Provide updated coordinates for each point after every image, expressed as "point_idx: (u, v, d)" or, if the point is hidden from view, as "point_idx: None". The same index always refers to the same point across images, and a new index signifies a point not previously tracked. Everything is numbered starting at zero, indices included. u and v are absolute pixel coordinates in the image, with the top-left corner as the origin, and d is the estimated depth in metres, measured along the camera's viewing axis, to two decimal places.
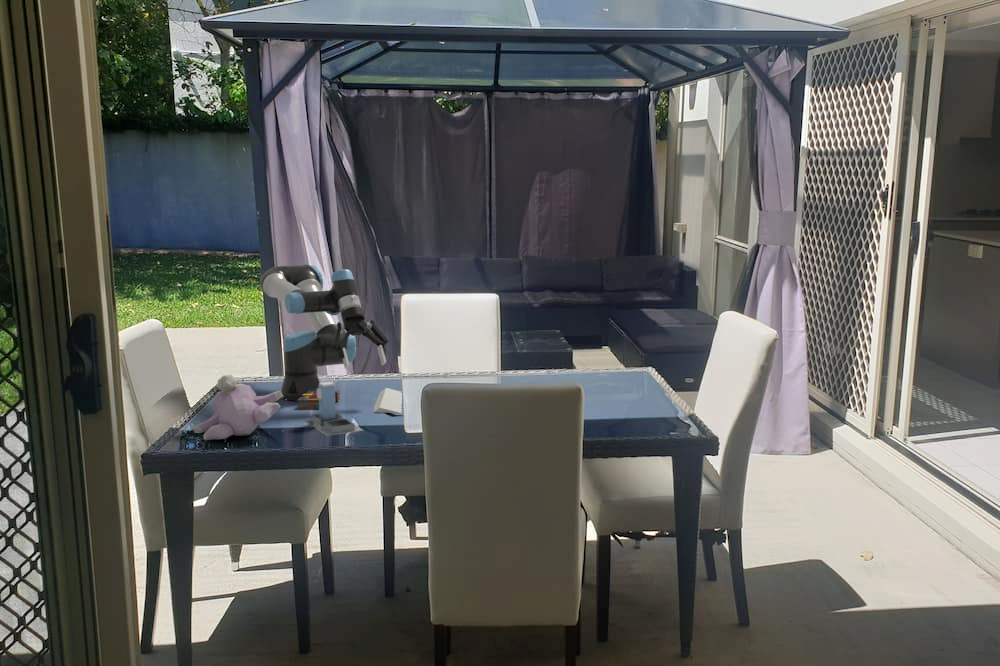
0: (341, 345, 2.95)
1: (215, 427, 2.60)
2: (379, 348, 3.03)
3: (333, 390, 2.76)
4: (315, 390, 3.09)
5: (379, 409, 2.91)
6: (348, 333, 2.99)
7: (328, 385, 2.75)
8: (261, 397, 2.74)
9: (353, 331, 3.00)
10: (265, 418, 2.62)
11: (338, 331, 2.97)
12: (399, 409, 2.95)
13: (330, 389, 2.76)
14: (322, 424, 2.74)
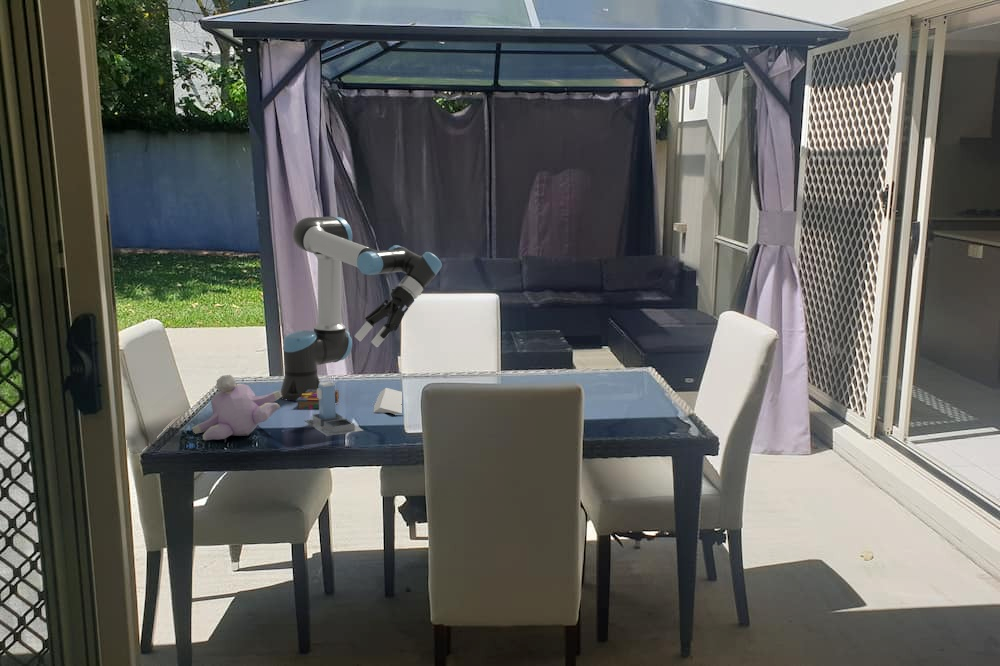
0: None
1: (214, 427, 2.60)
2: (369, 327, 2.88)
3: (333, 390, 2.76)
4: (314, 390, 3.09)
5: (379, 409, 2.91)
6: None
7: (328, 385, 2.75)
8: (260, 397, 2.74)
9: None
10: (264, 418, 2.61)
11: None
12: (399, 409, 2.95)
13: (330, 389, 2.76)
14: (322, 424, 2.74)
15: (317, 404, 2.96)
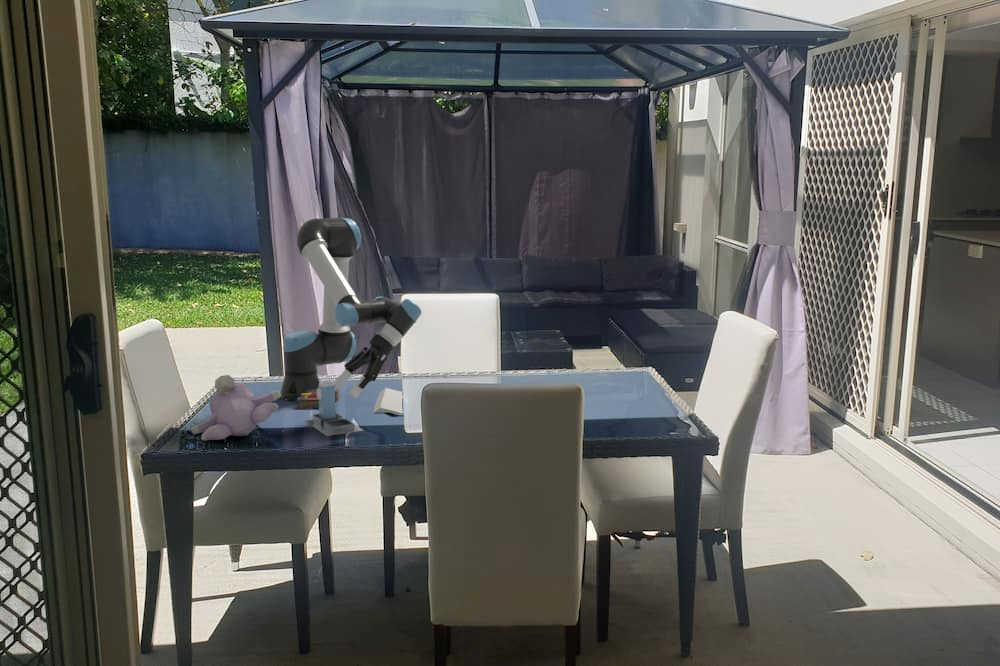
0: None
1: (213, 427, 2.60)
2: (348, 374, 2.86)
3: (333, 390, 2.76)
4: (314, 390, 3.10)
5: (380, 409, 2.91)
6: None
7: (328, 385, 2.75)
8: (259, 397, 2.73)
9: None
10: (263, 418, 2.61)
11: None
12: (399, 409, 2.95)
13: (330, 389, 2.76)
14: (322, 424, 2.74)
15: (317, 404, 2.96)
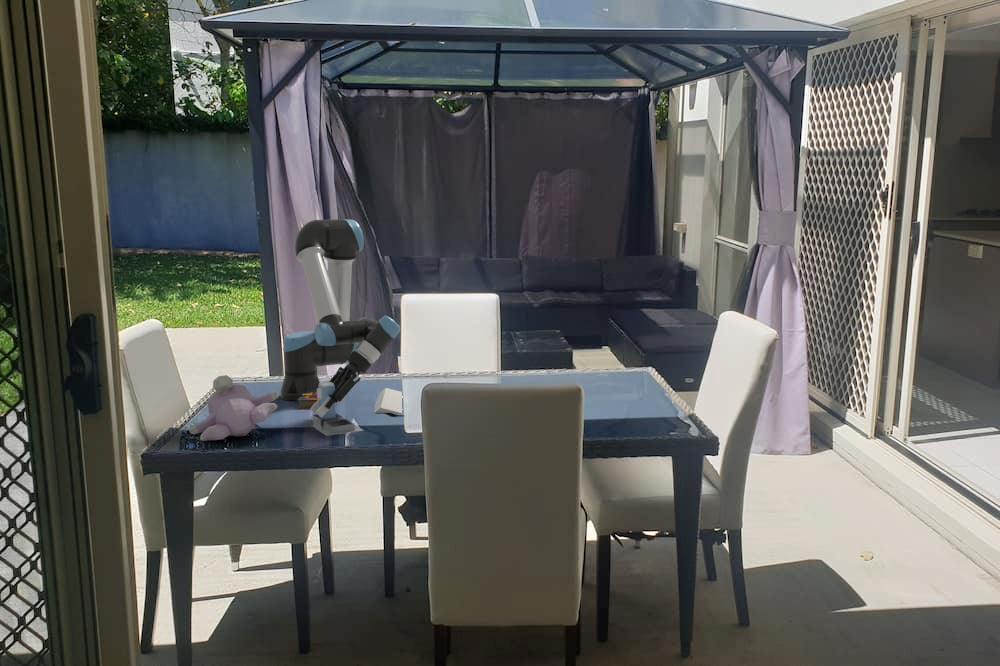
0: None
1: (212, 428, 2.59)
2: None
3: (333, 390, 2.76)
4: (314, 390, 3.10)
5: (380, 409, 2.90)
6: None
7: (328, 385, 2.75)
8: (257, 397, 2.73)
9: None
10: (262, 418, 2.61)
11: None
12: (400, 409, 2.95)
13: (330, 389, 2.76)
14: (322, 424, 2.74)
15: None
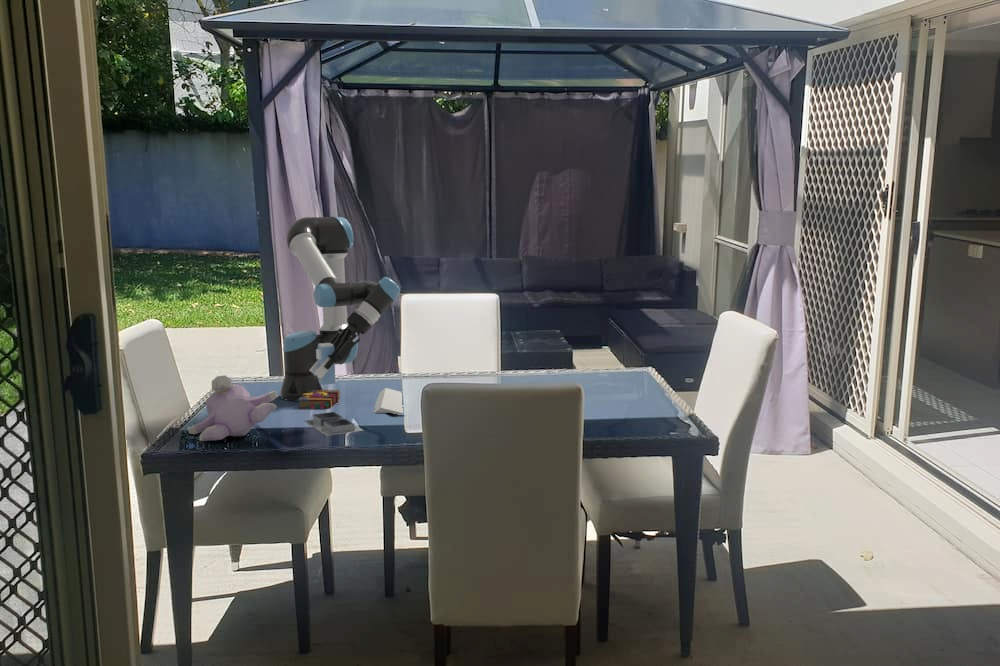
0: None
1: (211, 428, 2.59)
2: None
3: (332, 351, 2.74)
4: (315, 390, 3.10)
5: (380, 409, 2.90)
6: None
7: (327, 345, 2.73)
8: (256, 397, 2.73)
9: None
10: (262, 418, 2.61)
11: None
12: (400, 409, 2.95)
13: (329, 350, 2.73)
14: (322, 424, 2.74)
15: (319, 404, 2.97)
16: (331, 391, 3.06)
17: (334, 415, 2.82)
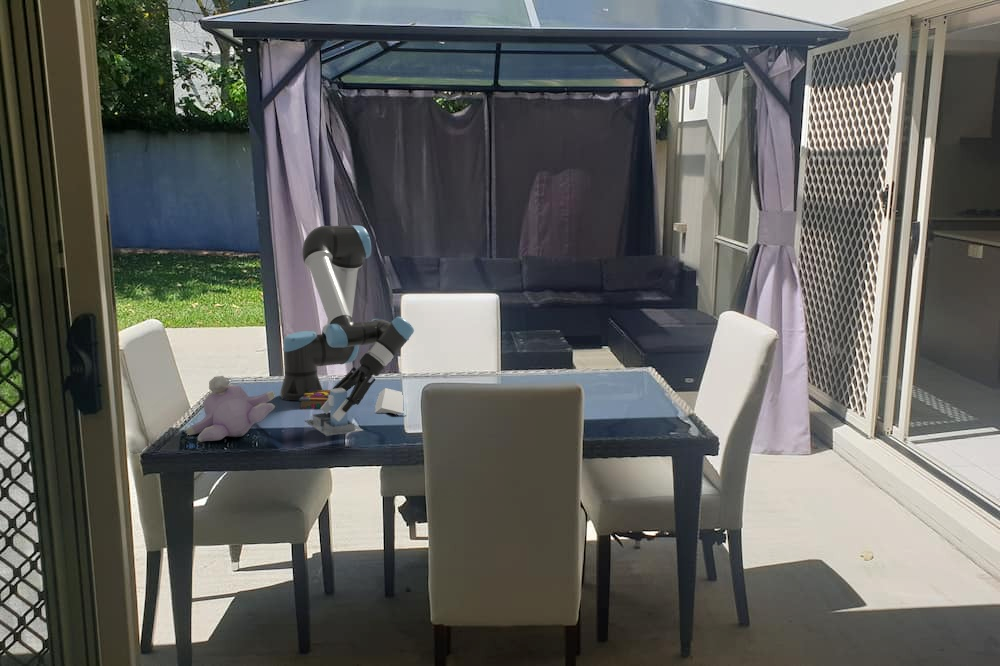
0: None
1: (209, 428, 2.59)
2: None
3: (345, 396, 2.68)
4: (316, 389, 3.10)
5: (381, 409, 2.90)
6: None
7: (340, 391, 2.67)
8: (254, 398, 2.73)
9: None
10: (260, 419, 2.61)
11: None
12: (401, 409, 2.95)
13: (342, 395, 2.67)
14: (322, 424, 2.74)
15: (320, 403, 2.97)
16: None
17: None
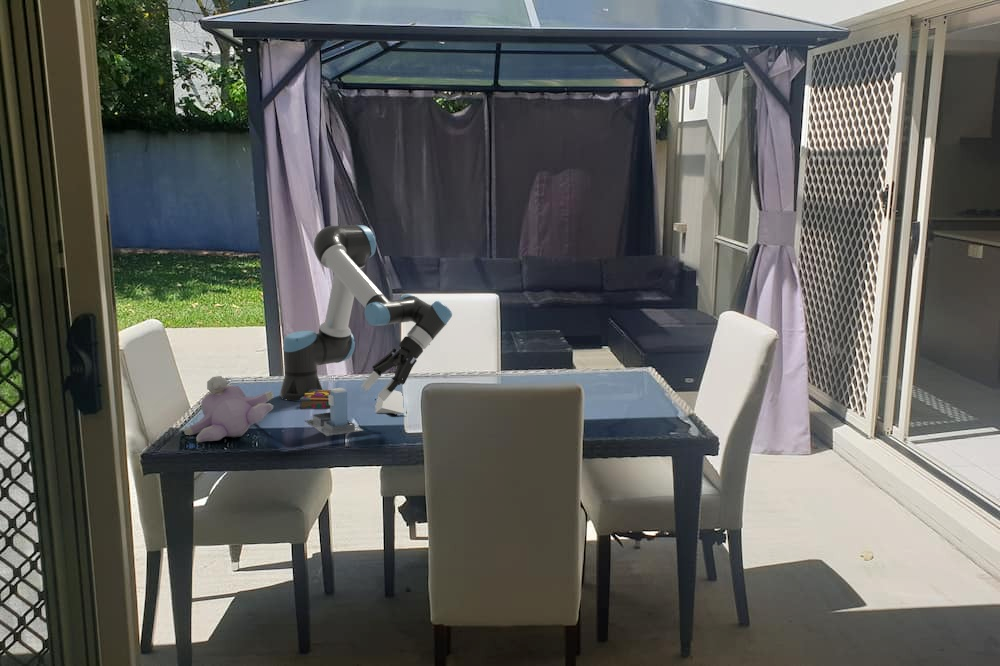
0: None
1: (208, 429, 2.58)
2: (376, 376, 2.82)
3: (345, 396, 2.68)
4: (317, 389, 3.10)
5: (381, 409, 2.90)
6: None
7: (340, 391, 2.67)
8: (252, 398, 2.73)
9: None
10: (259, 419, 2.61)
11: None
12: (401, 409, 2.95)
13: (342, 395, 2.67)
14: (322, 424, 2.74)
15: (320, 404, 2.97)
16: None
17: None
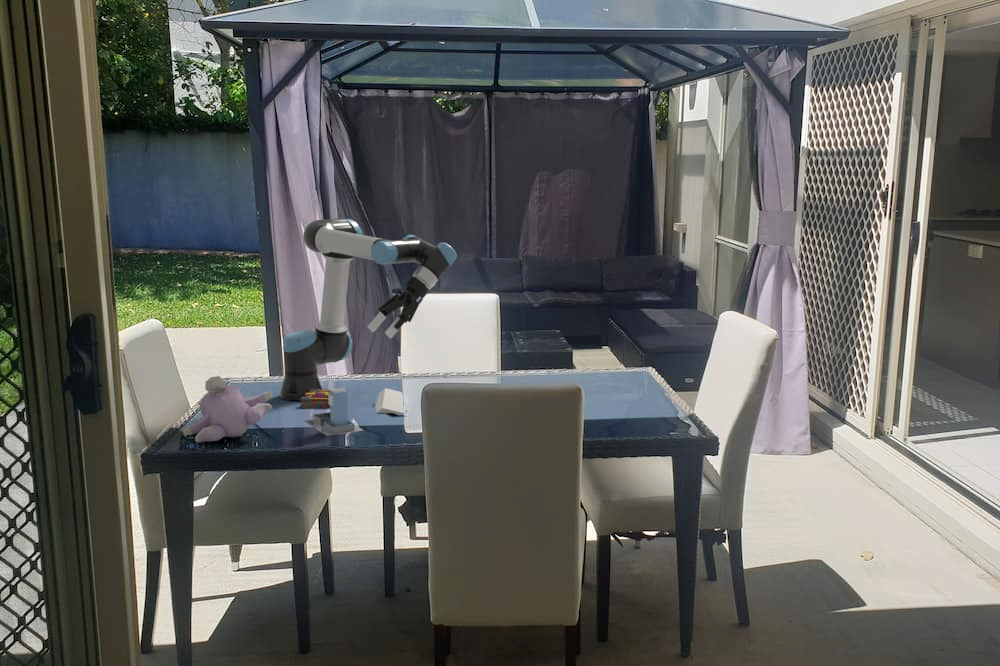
0: None
1: (207, 429, 2.58)
2: (382, 317, 2.84)
3: (345, 396, 2.68)
4: (318, 389, 3.10)
5: (382, 409, 2.90)
6: None
7: (340, 391, 2.67)
8: (251, 398, 2.72)
9: None
10: (258, 419, 2.61)
11: None
12: (401, 409, 2.95)
13: (342, 395, 2.67)
14: (322, 424, 2.74)
15: (320, 403, 2.97)
16: None
17: None
